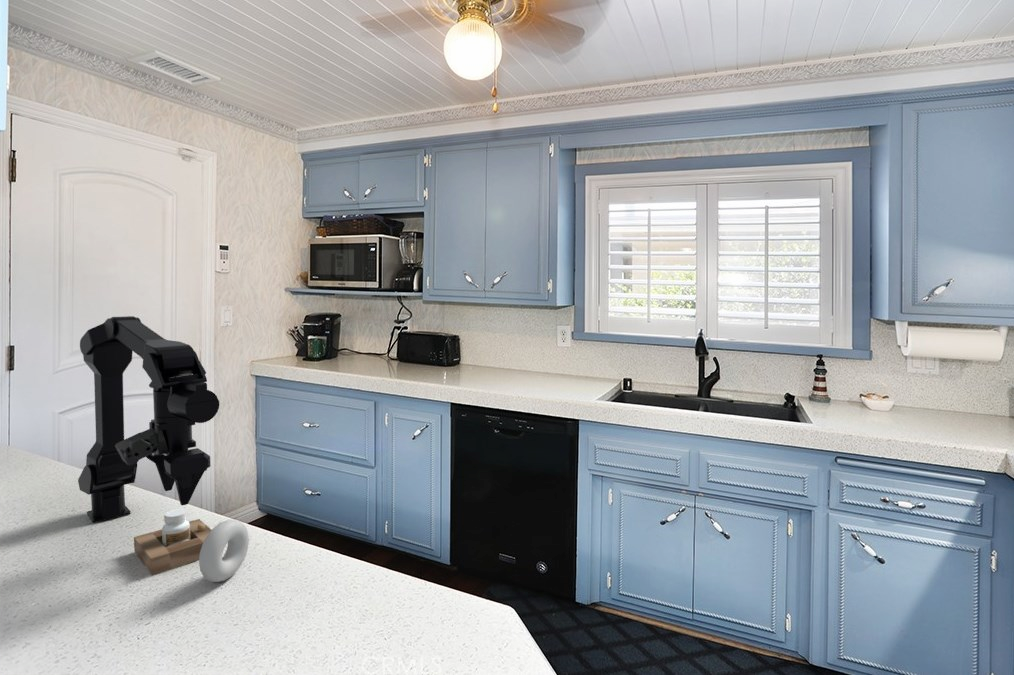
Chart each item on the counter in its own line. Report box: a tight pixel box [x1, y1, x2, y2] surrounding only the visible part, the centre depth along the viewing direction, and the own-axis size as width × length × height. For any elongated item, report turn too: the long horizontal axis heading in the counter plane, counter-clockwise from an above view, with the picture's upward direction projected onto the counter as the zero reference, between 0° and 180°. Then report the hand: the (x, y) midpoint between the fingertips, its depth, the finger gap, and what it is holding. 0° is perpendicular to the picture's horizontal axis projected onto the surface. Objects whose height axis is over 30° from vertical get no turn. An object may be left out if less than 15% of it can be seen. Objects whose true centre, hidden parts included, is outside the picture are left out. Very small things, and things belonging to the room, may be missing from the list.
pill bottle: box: [161, 508, 190, 547], centre depth 99 cm, size 4×4×8 cm
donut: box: [198, 519, 250, 583], centre depth 91 cm, size 10×4×10 cm, turn 168°
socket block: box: [133, 518, 212, 576], centre depth 99 cm, size 11×11×4 cm
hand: (176, 497), depth 98 cm, fingers open, 9 cm apart
